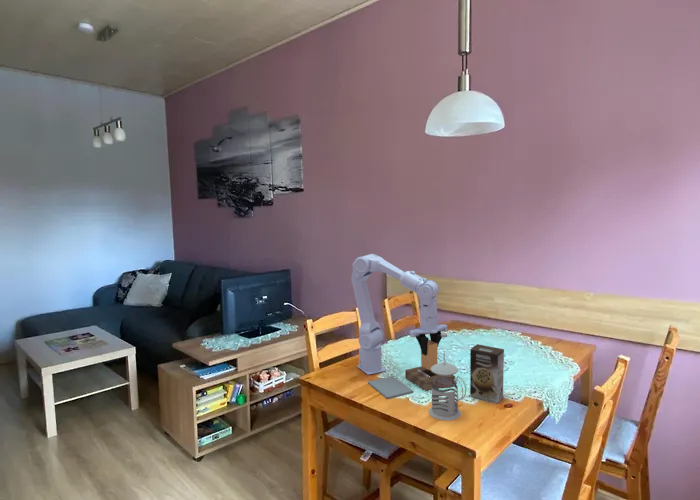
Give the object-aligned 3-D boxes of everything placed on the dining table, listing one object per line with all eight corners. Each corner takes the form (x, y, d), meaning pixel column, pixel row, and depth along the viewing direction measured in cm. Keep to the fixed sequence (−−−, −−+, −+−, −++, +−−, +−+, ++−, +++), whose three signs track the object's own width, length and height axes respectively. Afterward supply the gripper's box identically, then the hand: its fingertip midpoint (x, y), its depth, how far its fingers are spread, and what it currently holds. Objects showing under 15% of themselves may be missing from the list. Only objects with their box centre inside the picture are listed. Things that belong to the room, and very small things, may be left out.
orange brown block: (421, 365, 157) (420, 341, 156) (429, 363, 158) (429, 339, 157) (429, 370, 152) (428, 345, 151) (437, 368, 154) (437, 343, 152)
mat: (367, 383, 156) (367, 381, 156) (392, 377, 160) (392, 375, 160) (387, 399, 143) (387, 397, 143) (413, 392, 147) (413, 390, 147)
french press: (439, 401, 140) (438, 325, 137) (473, 413, 132) (472, 332, 129) (422, 413, 133) (420, 333, 130) (456, 426, 125) (455, 341, 122)
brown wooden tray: (405, 377, 159) (405, 368, 159) (433, 371, 164) (432, 362, 164) (425, 391, 147) (425, 381, 147) (454, 384, 152) (454, 374, 152)
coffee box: (469, 397, 142) (469, 349, 140) (476, 389, 148) (476, 343, 146) (497, 404, 137) (497, 354, 135) (504, 396, 142) (504, 348, 140)
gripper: (417, 321, 146) (418, 361, 148) (452, 315, 152) (453, 353, 154) (406, 316, 153) (406, 354, 154) (440, 311, 159) (440, 347, 160)
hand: (429, 353), depth 155 cm, fingers closed on orange brown block, 3 cm apart
